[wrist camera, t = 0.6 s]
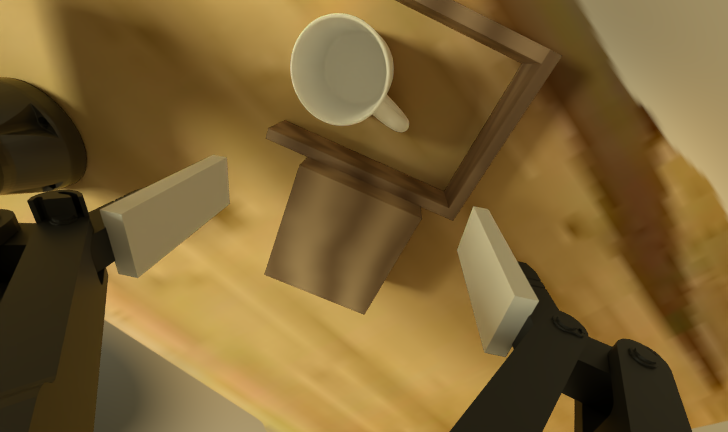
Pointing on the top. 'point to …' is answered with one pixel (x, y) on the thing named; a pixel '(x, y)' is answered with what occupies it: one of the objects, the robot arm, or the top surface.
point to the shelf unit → (387, 181)
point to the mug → (345, 72)
